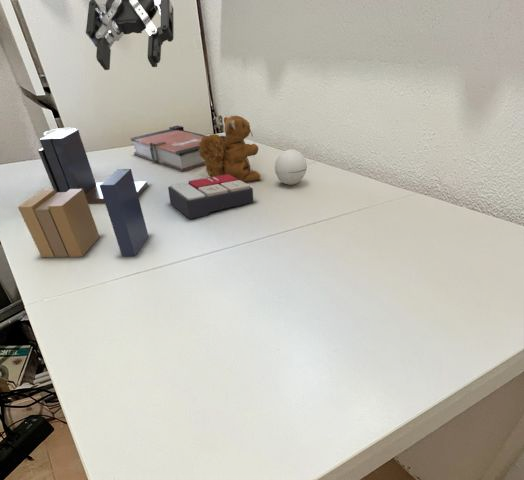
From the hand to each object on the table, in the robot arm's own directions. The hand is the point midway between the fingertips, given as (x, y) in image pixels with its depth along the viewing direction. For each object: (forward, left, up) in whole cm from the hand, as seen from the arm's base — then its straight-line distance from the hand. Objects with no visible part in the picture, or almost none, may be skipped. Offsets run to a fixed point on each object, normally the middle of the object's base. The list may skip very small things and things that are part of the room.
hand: (128, 65), depth 63 cm
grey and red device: (+10, +4, -25) cm, 28 cm away
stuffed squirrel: (+16, +20, -25) cm, 36 cm away
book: (+2, +44, -25) cm, 51 cm away
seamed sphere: (+31, +12, -25) cm, 41 cm away
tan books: (-16, -11, -25) cm, 32 cm away
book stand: (-15, +16, -25) cm, 34 cm away
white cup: (-27, +37, -25) cm, 53 cm away
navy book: (-3, -14, -25) cm, 29 cm away
